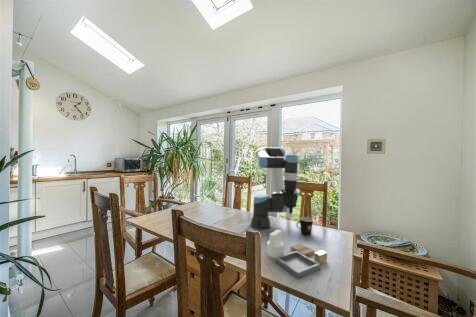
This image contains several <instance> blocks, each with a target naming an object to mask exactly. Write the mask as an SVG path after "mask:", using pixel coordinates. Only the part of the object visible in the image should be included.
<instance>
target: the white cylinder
mask: <svg viewBox="0 0 476 317" xmlns="http://www.w3.org/2000/svg"><path fill="white" fill-rule="evenodd" d="M282 234H283V230H280V229H276V230H274V231H272V232H270V233H269V238H268V239H269V240H267V243H266V253H267V254H266V255H267V256H269V257H270V258H273V259H276V257H279V256H282V255H284V253H285V252H284V250H285V248H284V247H285V246H284V242H283V241H282V239H283V238H282V237H283V235H282Z"/></svg>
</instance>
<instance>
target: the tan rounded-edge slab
mask: <svg viewBox="0 0 476 317" xmlns="http://www.w3.org/2000/svg"><path fill="white" fill-rule="evenodd" d="M290 251H291V252H294V251H298V252H299V253H301V254H303V255H305V256H306V257H308V258H309V257H312V256H313V255H314V256H315V250H314V249H312V248H310V247H308V246H306V245H304V244H302V243H297V244H295V245H291V246H290Z"/></svg>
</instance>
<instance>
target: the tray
mask: <svg viewBox="0 0 476 317" xmlns="http://www.w3.org/2000/svg"><path fill="white" fill-rule="evenodd" d="M274 261H275V262H274V263H276V265H278V266H280V267H281V268H282V269H284V270H285V271H287V273H289V274H291V275H292V276H293V277H294V278H296V279H301V278H303V277H306V276H307V275H310V274H312V273H314V272H315V273H316V272H318V271H319V270H321V265H320V264H319V263H317V262H315V261H314V260H313V259H312V258H309V256H308V257H306V256H305V255H303V254H301V253H299V252H298V251H294V252H293V251H291V252H289V253H285V254H283V255H282V256H279V257H276V258H275V260H274Z"/></svg>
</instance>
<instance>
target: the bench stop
mask: <svg viewBox="0 0 476 317" xmlns="http://www.w3.org/2000/svg"><path fill="white" fill-rule="evenodd" d="M314 261H315V262H317V263H319V264H320V266H321V265H323V264H326V263H327V262H328V252H326V251H325V250H323V249H321V250H318V251H316V252H314Z"/></svg>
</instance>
